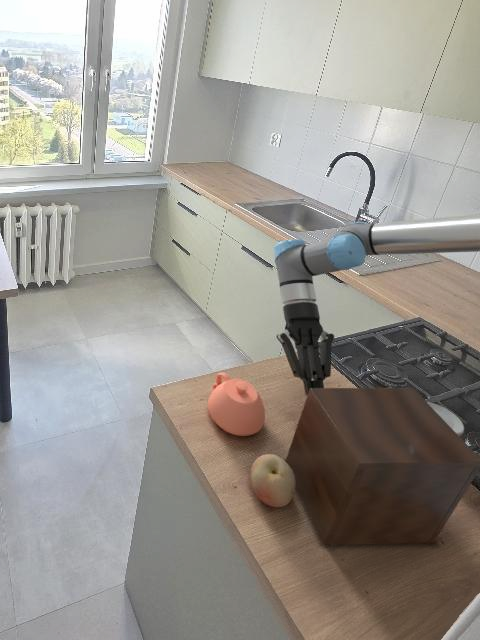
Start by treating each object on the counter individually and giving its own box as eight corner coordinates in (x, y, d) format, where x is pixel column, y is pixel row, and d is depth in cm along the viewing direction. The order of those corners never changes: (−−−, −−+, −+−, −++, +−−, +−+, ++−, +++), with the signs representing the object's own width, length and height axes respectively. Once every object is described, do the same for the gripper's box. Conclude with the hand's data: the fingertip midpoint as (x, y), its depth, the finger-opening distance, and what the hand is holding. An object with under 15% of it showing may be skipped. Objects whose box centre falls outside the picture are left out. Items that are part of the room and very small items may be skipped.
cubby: (377, 463, 87) (413, 387, 78) (433, 543, 73) (484, 462, 64) (284, 464, 86) (309, 387, 77) (323, 545, 72) (360, 463, 63)
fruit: (237, 490, 80) (245, 462, 77) (260, 466, 85) (268, 439, 82) (276, 525, 75) (286, 496, 71) (298, 497, 79) (308, 469, 76)
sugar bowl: (229, 450, 88) (237, 415, 84) (191, 400, 100) (197, 367, 96) (273, 432, 92) (284, 398, 88) (232, 387, 104) (240, 355, 100)
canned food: (406, 432, 94) (424, 396, 90) (449, 458, 88) (470, 421, 84) (392, 449, 90) (410, 412, 85) (436, 478, 84) (458, 440, 80)
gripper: (317, 306, 103) (336, 410, 95) (265, 306, 102) (281, 411, 94) (335, 301, 96) (358, 413, 88) (280, 300, 95) (298, 413, 87)
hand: (318, 412), depth 91 cm, fingers closed
